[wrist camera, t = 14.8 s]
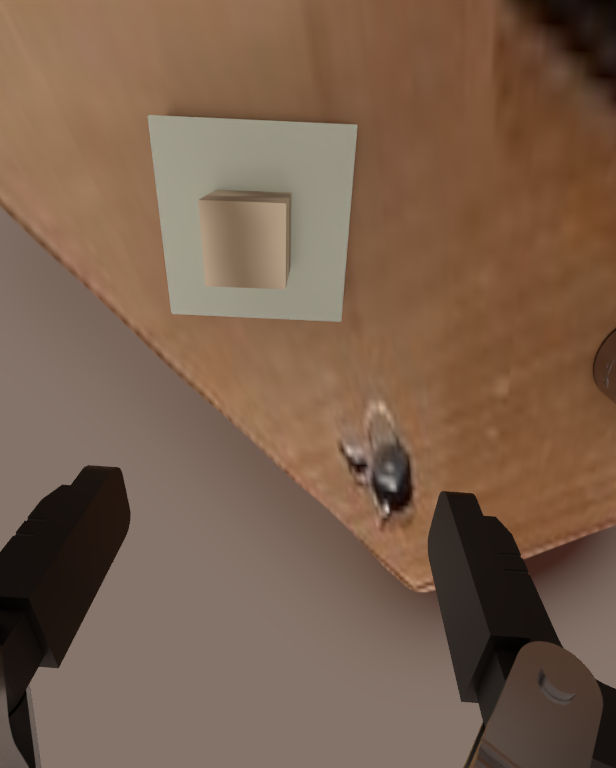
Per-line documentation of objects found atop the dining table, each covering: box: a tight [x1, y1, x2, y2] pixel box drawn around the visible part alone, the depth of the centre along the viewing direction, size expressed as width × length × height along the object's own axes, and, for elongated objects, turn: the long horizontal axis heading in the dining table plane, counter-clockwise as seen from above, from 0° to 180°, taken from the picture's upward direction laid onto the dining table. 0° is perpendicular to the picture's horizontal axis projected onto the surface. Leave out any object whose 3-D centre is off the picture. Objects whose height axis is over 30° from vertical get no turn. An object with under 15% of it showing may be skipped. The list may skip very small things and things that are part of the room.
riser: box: [147, 115, 357, 322], centre depth 32 cm, size 13×13×4 cm
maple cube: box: [198, 190, 291, 289], centre depth 28 cm, size 5×5×5 cm
